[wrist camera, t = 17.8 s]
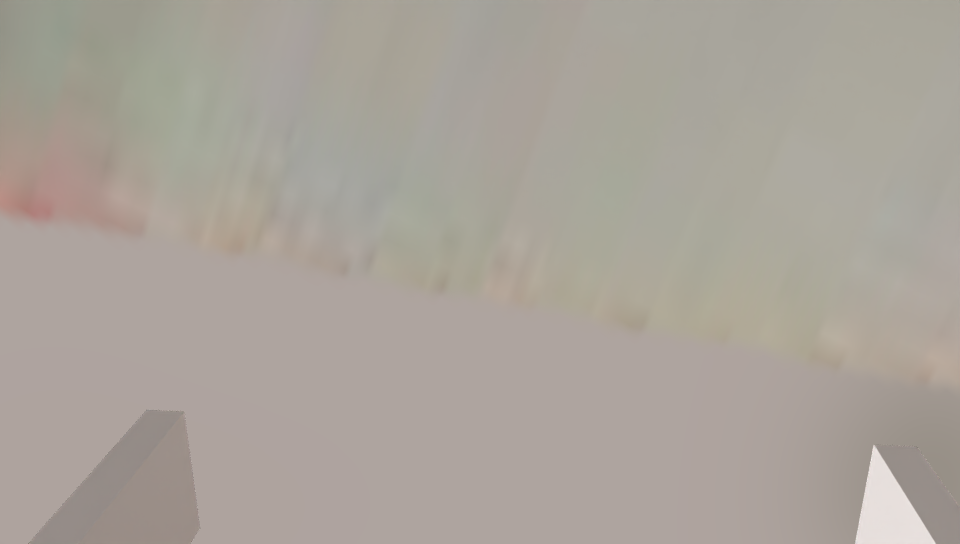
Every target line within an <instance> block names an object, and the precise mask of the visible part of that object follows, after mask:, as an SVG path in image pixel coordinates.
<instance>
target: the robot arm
mask: <svg viewBox="0 0 960 544" xmlns="http://www.w3.org/2000/svg"><path fill="white" fill-rule="evenodd" d="M199 529H200V524H199V517H198V509H197V502H196V494H195V487H194V479H193V472H192V464H191V457H190V450H189V443H188V435H187V428H186V420H185V413H184V412H179V411H160V410H159V411H158V410H146V411H145V412H144V414H143V415H142V416H141V417H140V418H139V419H138V420H137V421H136V422H135V424H134V425H133V426H132V427H131V428H130V429H129V430H128V432H127V433H126V434H125V435H124V436H123V437H122V438H121V440H120V441H119V442H118V443H117V444H116V445H115V446H114V447H113V449H112V450H111V451H110V452H109V453H108V454H107V455H106V456H105V458H104V459H103V460H102V461H101V462H100V463H99V464H98V465H97V467H96V468H95V469H94V470H93V471H92V472H91V473H90V474H89V476H88V477H87V478H86V479H85V480H84V481H83V482H82V483H81V485H80V486H79V487H78V488H77V489H76V490H75V491H74V492H73V494H72V495H71V496H70V497H69V498H68V499H67V500H66V502H65V503H64V504H63V505H62V506H61V507H60V508H59V509H58V511H57V512H56V513H55V514H54V515H53V516H52V517H51V519H50V520H49V521H48V522H47V523H46V524H45V525H44V526H43V527H42V529H41V530H40V531H39V532H38V533H37V534H36V535H35V537H34V538H33V539H32V540H31V541H30V542H29V543H28V544H191V542H192V540H193V539H194V537H195V535H196V534H197V532H198V530H199ZM855 544H960V507H959V505H958V504H957V503H956V501H955V499H954V498H953V497H952V496H951V494H950V492H949V491H948V490H947V488H946V487H945V485H944V484H943V483H942V481H941V480H940V478H939V477H938V475H937V474H936V473H935V471H934V470H933V468H932V467H931V466H930V464H929V463H928V461H927V460H926V459H925V457H924V456H923V454H922V453H921V452H920V450H919V449H918V447H915V446H893V445H874V447H873V452H872V458H871V463H870V468H869V473H868V479H867V484H866V489H865V494H864V500H863V505H862V510H861V515H860V520H859V526H858V531H857V536H856V542H855Z"/></svg>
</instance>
